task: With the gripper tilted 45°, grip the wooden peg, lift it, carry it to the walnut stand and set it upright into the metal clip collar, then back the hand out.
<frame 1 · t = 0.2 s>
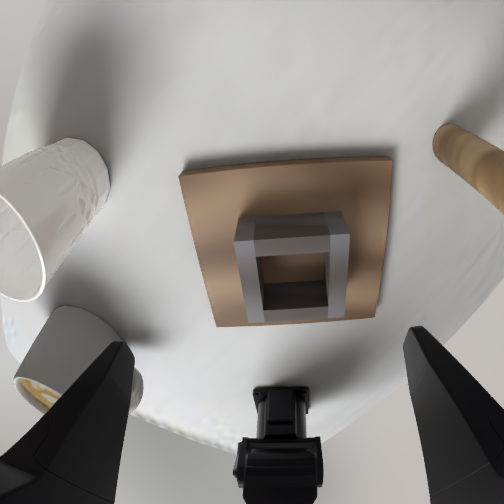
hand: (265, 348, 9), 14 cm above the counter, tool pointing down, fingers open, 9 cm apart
wooden peg: (449, 144, 19), on the counter
coffee mug: (100, 341, 33), on the counter
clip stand: (292, 249, 24), on the counter
white cup: (75, 176, 22), on the counter
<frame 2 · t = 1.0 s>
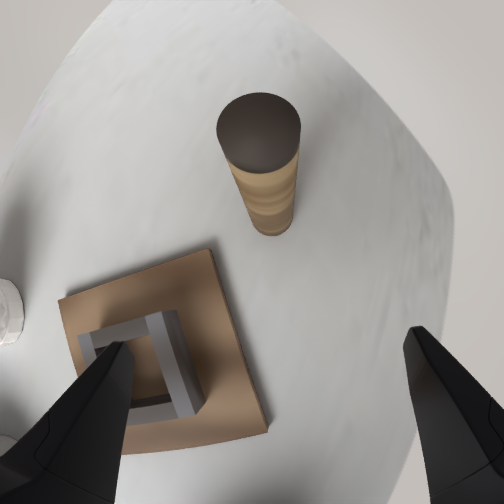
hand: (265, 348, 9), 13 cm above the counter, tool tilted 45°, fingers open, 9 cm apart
wooden peg: (271, 215, 24), on the counter
coffee mug: (31, 478, 22), on the counter
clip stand: (153, 364, 23), on the counter
white cup: (6, 311, 25), on the counter
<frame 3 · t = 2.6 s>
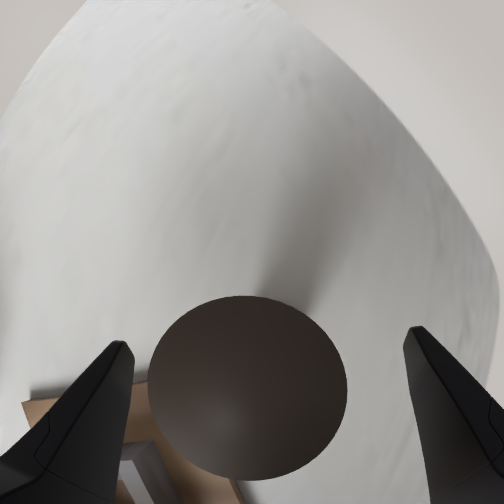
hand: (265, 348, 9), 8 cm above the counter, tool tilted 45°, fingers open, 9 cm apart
wooden peg: (271, 328, 17), on the counter
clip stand: (134, 482, 16), on the counter
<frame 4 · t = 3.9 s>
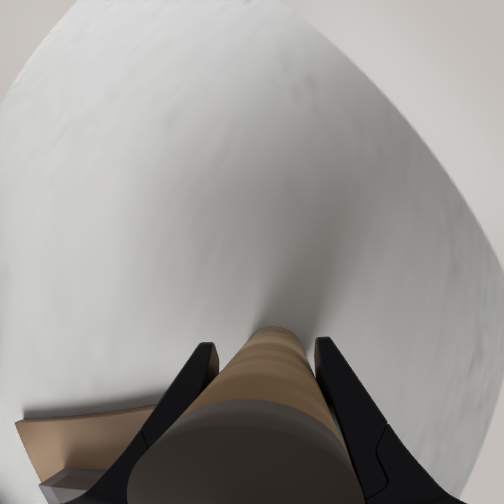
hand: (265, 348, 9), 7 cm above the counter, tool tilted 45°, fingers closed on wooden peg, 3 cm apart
wooden peg: (273, 356, 16), on the counter, touching gripper
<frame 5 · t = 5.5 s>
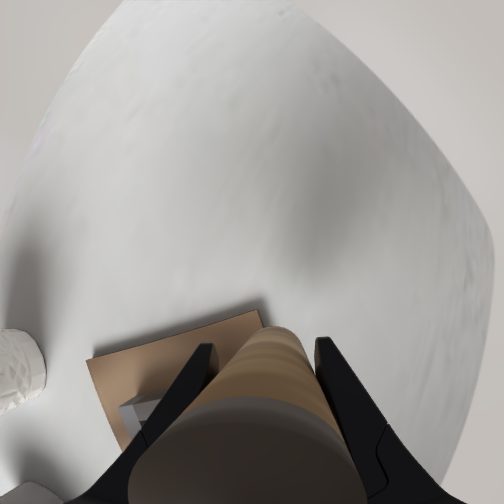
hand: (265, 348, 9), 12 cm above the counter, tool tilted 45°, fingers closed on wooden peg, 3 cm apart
wooden peg: (273, 355, 16), point 6 cm above the counter, touching gripper
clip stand: (198, 424, 21), on the counter
white cup: (24, 363, 23), on the counter
when the fingers open (9 cm above the counter, at t = 7.3 s): wooden peg drops 1 cm, resting on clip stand.
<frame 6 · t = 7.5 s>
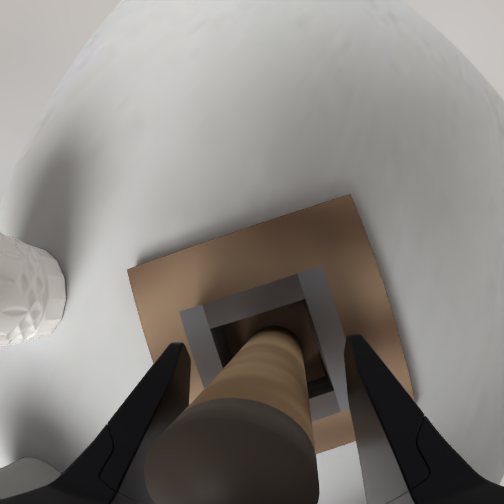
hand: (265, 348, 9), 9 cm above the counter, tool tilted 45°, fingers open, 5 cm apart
wooden peg: (274, 352, 17), point 1 cm above the counter, touching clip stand
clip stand: (274, 348, 18), on the counter
white cup: (37, 293, 20), on the counter
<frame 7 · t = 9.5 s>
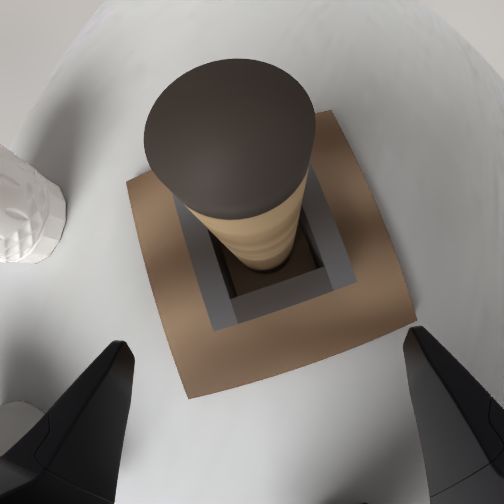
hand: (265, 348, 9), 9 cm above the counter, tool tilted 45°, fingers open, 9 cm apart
wooden peg: (265, 247, 18), point 1 cm above the counter, touching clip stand
coffee mug: (53, 461, 18), on the counter
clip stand: (265, 249, 19), on the counter
white cup: (38, 222, 21), on the counter
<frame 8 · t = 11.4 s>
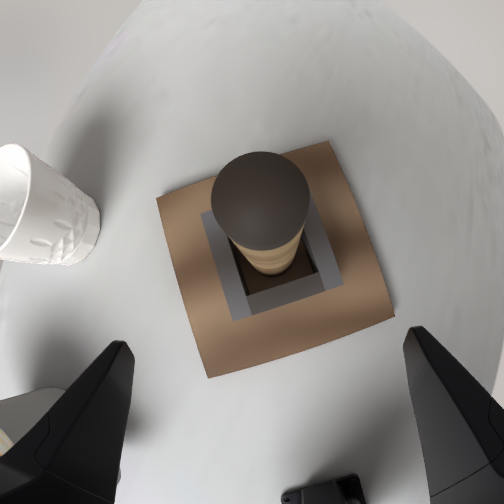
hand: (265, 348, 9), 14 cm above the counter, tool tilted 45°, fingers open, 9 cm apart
wooden peg: (272, 255, 22), point 1 cm above the counter, touching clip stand
coffee mug: (80, 441, 23), on the counter
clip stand: (272, 256, 23), on the counter
white cup: (72, 229, 26), on the counter
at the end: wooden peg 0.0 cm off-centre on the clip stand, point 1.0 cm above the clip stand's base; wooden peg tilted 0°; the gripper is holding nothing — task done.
